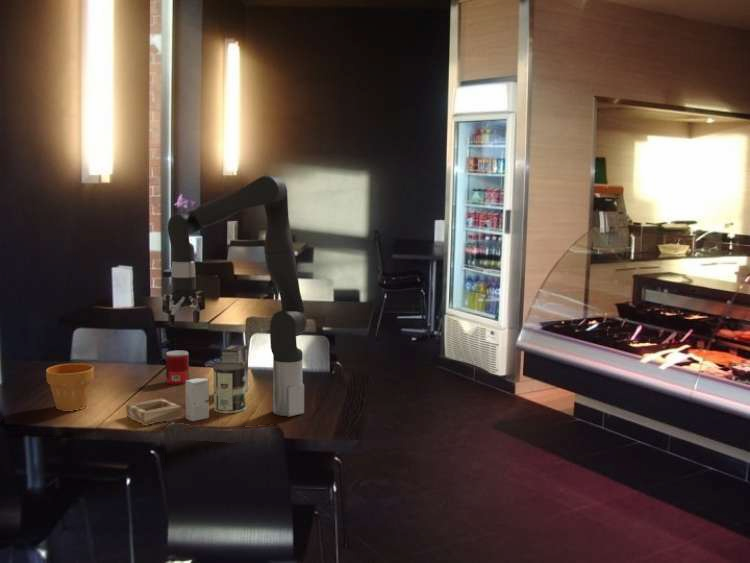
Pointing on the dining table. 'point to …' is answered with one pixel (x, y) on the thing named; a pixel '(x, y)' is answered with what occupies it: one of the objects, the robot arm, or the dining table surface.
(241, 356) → the coffee box
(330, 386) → the dining table surface
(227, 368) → the coffee can
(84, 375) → the flower pot
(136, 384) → the dining table surface
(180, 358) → the canned food
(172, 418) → the frame
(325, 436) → the dining table surface
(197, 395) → the skincare box
